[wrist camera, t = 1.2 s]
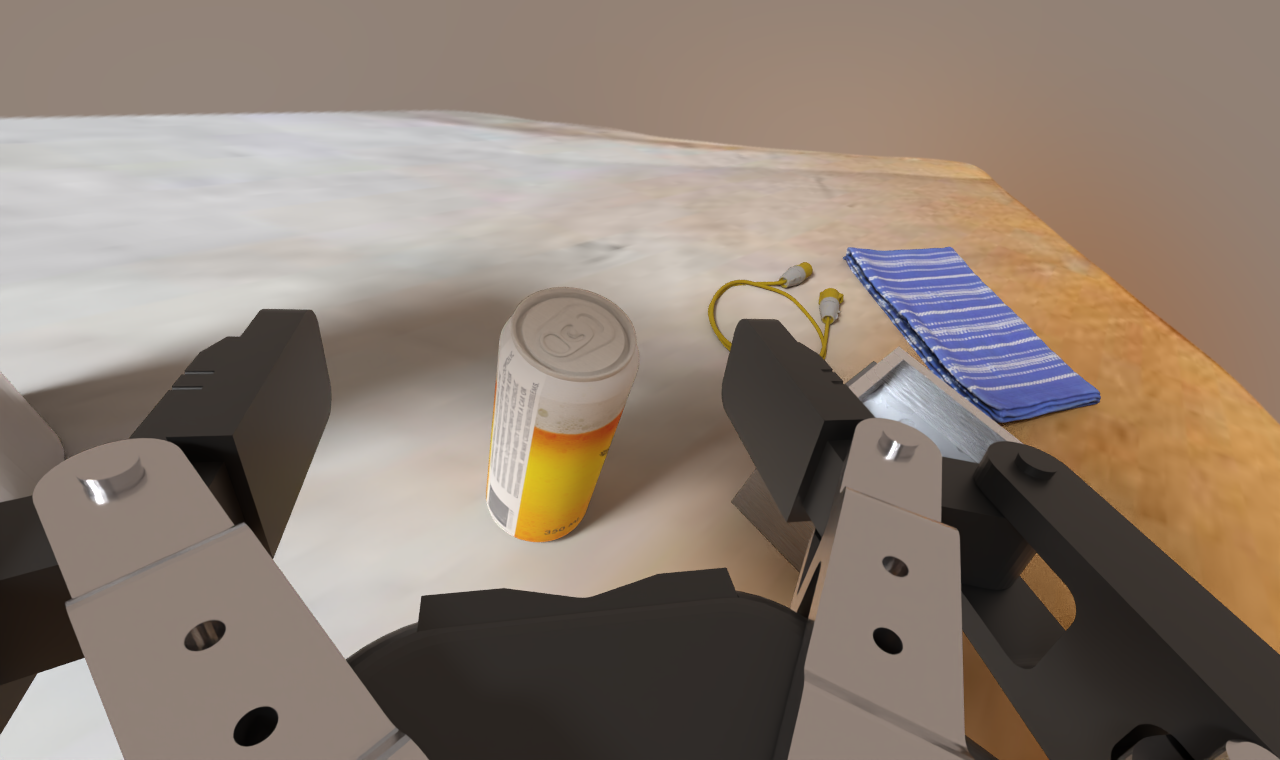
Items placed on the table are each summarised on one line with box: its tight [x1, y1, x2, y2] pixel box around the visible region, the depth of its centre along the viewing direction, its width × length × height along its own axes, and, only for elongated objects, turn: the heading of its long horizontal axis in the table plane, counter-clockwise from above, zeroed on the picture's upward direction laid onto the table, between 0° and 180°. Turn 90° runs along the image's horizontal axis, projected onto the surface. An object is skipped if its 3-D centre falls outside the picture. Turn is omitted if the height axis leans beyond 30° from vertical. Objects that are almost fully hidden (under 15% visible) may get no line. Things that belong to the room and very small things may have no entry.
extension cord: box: [708, 262, 844, 359], centre depth 52 cm, size 12×16×2 cm
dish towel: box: [843, 247, 1101, 423], centre depth 58 cm, size 17×24×3 cm
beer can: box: [486, 287, 639, 542], centre depth 29 cm, size 6×6×15 cm
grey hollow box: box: [731, 347, 1023, 572], centre depth 35 cm, size 15×11×10 cm
